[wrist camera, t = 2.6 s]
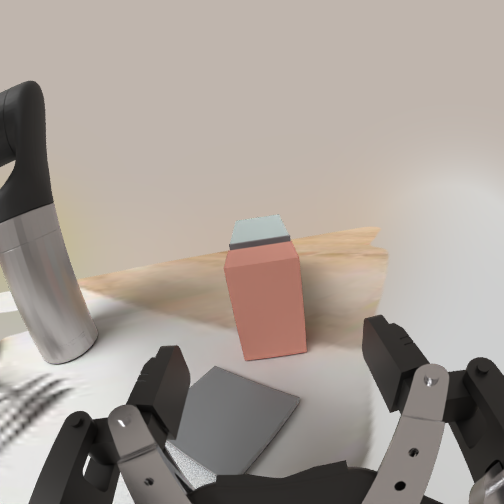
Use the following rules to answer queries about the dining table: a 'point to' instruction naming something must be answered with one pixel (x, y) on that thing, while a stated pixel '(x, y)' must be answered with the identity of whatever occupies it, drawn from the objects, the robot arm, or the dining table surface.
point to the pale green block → (258, 232)
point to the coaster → (230, 421)
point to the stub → (267, 300)
